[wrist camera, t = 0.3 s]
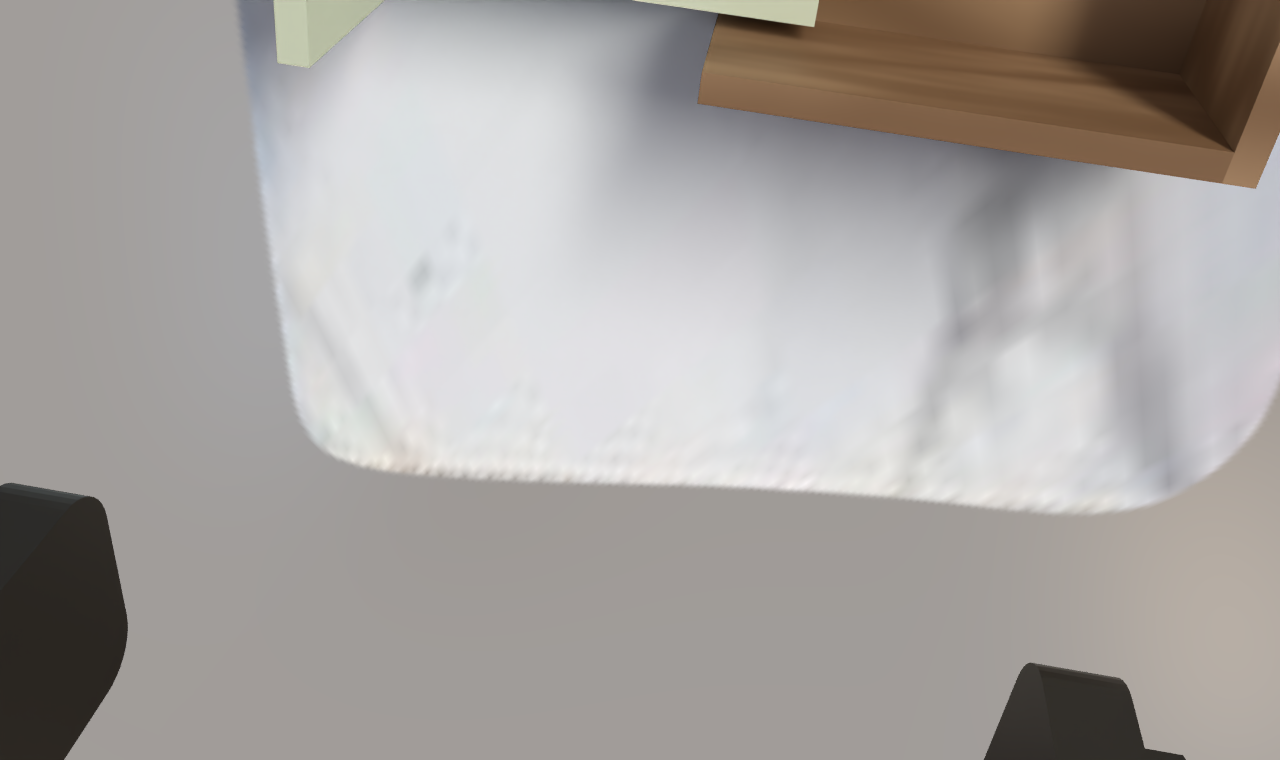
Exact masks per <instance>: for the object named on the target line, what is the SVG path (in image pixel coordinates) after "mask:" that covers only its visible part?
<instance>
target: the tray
mask: <svg viewBox="0 0 1280 760" xmlns="http://www.w3.org/2000/svg"><path fill="white" fill-rule="evenodd" d="M273 1H274V17H275V32H276V48H277V63H280V64H287V65H293V66H300V67H306V68H310V67H311V66H312V65H313V64H314V63H315V62H317V61H318V60H319V59H320V58H321V57H322V56H323V55H324V54H325V53H327V52H328V51H329V50H330V49H331V48H332V47H333V46H334V45H336V44H337V43H338V42H339V41H340V40H341V39H342V38H343V37H344V36H346V35H347V34H348V33H349V32H350V31H351V30H352V29H353V28H354V27H356V26H357V25H358V24H359V23H360V22H361V21H362V20H363V19H364V18H366V17H367V16H368V15H369V14H370V13H371V12H372V11H373V10H374V9H376V8H377V7H378V6H379V5H380V4H381V3H382V2H383V1H384V0H273ZM634 1H641V2H648V3H655V4H661V5H668V6H675V7H682V8H688V9H695V10H702V11H709V12H715V13H722V14H729V15H736V16H742V17H749V18H756V19H763V20H769V21H776V22H783V23H790V24H796V25H803V26H810V27H814V25H815V20H816V14H817V9H818V4H819V0H634Z"/></svg>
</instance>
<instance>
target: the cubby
mask: <svg viewBox="0 0 1280 760" xmlns="http://www.w3.org/2000/svg"><path fill="white" fill-rule="evenodd" d="M698 104H704V105H710V106H717V107H723V108H730V109H737V110H743V111H750V112H756V113H763V114H769V115H776V116H783V117H789V118H796V119H802V120H809V121H815V122H822V123H828V124H835V125H842V126H848V127H855V128H861V129H868V130H874V131H881V132H887V133H894V134H901V135H907V136H914V137H920V138H927V139H933V140H940V141H947V142H953V143H960V144H966V145H973V146H979V147H986V148H992V149H999V150H1006V151H1012V152H1019V153H1025V154H1032V155H1038V156H1045V157H1052V158H1058V159H1065V160H1071V161H1078V162H1084V163H1091V164H1097V165H1104V166H1111V167H1117V168H1124V169H1130V170H1137V171H1143V172H1150V173H1156V174H1163V175H1170V176H1176V177H1183V178H1189V179H1196V180H1202V181H1209V182H1216V183H1222V184H1229V185H1235V186H1242V187H1248V188H1255V189H1256V187H1257V184H1258V182H1259V180H1260V177H1261V175H1262V173H1263V170H1264V168H1265V166H1266V163H1267V161H1268V159H1269V156H1270V154H1271V151H1272V149H1273V147H1274V144H1275V142H1276V140H1277V137H1278V135H1279V133H1280V0H819V4H818V9H817V14H816V20H815V25H814V27H810V26H803V25H796V24H790V23H783V22H776V21H769V20H763V19H756V18H749V17H742V16H736V15H729V14H722V13H719V14H718V17H717V21H716V24H715V28H714V31H713V35H712V38H711V42H710V45H709V49H708V52H707V56H706V59H705V63H704V67H703V70H702V75H701V82H700V89H699V97H698Z"/></svg>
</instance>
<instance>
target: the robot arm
mask: <svg viewBox="0 0 1280 760" xmlns="http://www.w3.org/2000/svg"><path fill="white" fill-rule="evenodd" d="M127 631H128V622H127V614H126V609H125V604H124V600H123V595H122V589H121V584H120V579H119V574H118V569H117V565H116V560H115V555H114V550H113V545H112V540H111V535H110V530H109V525H108V520H107V516H106V512H105V509H104V507H103V505H102V504H101V502H100V501H99V500H98V499H96V498H94V497H90V496H84V495H78V494H73V493H67V492H61V491H55V490H50V489H44V488H38V487H32V486H26V485H21V484H15V483H7V484H3V485H1V486H0V760H64V759H65V757H66V756H67V754H68V753H69V751H70V750H71V748H72V747H73V745H74V744H75V742H76V740H77V739H78V737H79V736H80V734H81V733H82V731H83V730H84V728H85V727H86V725H87V724H88V722H89V721H90V719H91V718H92V716H93V715H94V713H95V711H96V710H97V708H98V707H99V705H100V703H101V702H102V701H103V699H104V698H105V696H106V694H107V693H108V691H109V690H110V688H111V686H112V685H113V682H114V680H115V678H116V676H117V674H118V671H119V669H120V666H121V663H122V660H123V656H124V652H125V648H126V641H127ZM984 760H1186V759H1185V758H1184V756H1183V755H1177V754H1172V753H1167V752H1161V751H1156V750H1150V749H1145V748H1144V745H1143V740H1142V737H1141V733H1140V728H1139V724H1138V720H1137V717H1136V713H1135V709H1134V705H1133V701H1132V697H1131V694H1130V691H1129V689H1128V687H1127V685H1126V684H1125V683H1124V681H1123V680H1121V679H1120V678H1116V677H1110V676H1104V675H1098V674H1092V673H1087V672H1081V671H1075V670H1069V669H1064V668H1058V667H1052V666H1047V665H1041V664H1035V663H1028V664H1026V665H1025V666H1024V667H1023V669H1022V670H1021V672H1020V674H1019V676H1018V678H1017V680H1016V683H1015V685H1014V688H1013V690H1012V692H1011V695H1010V698H1009V700H1008V703H1007V705H1006V707H1005V710H1004V712H1003V715H1002V717H1001V719H1000V722H999V724H998V727H997V729H996V731H995V734H994V736H993V739H992V741H991V744H990V746H989V749H988V751H987V753H986V756H985V758H984Z"/></svg>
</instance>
